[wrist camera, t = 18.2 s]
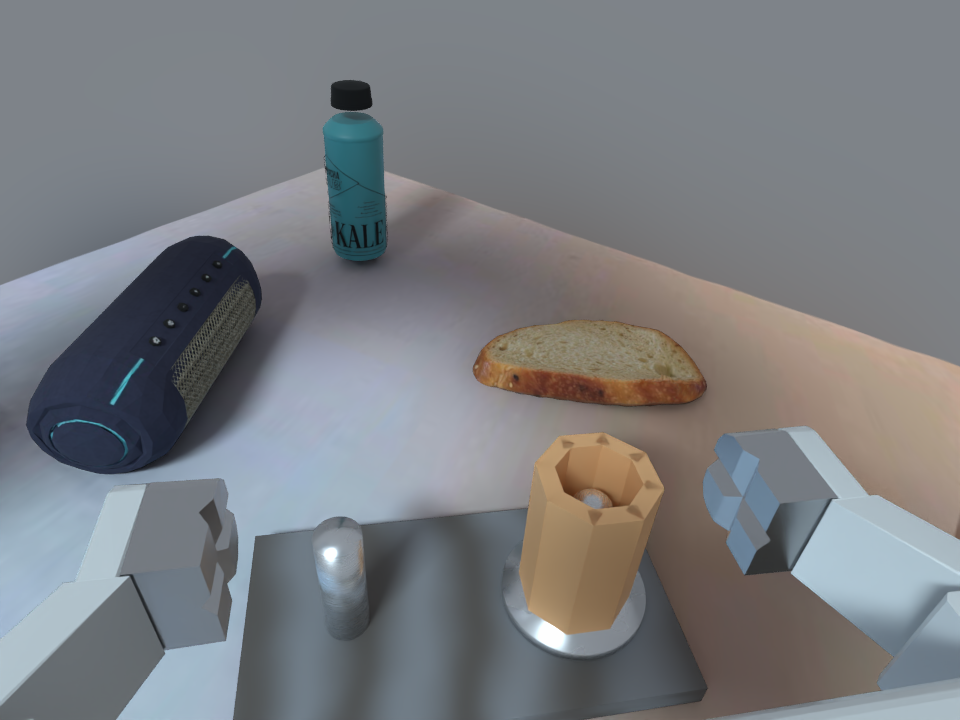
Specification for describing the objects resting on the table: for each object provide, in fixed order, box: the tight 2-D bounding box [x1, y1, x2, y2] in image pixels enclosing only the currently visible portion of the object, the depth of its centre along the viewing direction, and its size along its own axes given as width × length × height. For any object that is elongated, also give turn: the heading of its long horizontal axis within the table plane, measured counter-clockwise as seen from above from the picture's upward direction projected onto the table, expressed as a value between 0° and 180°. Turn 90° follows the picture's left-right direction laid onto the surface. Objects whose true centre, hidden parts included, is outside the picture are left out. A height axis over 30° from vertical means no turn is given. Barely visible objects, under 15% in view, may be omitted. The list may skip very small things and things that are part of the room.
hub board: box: [233, 489, 708, 720], centre depth 38 cm, size 26×14×11 cm, turn 100°
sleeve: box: [519, 432, 664, 635], centre depth 38 cm, size 6×6×10 cm
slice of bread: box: [473, 320, 707, 406], centre depth 61 cm, size 18×18×4 cm
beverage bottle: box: [323, 80, 388, 261], centre depth 71 cm, size 6×7×20 cm
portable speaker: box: [26, 236, 262, 474], centre depth 55 cm, size 25×10×10 cm, turn 176°
